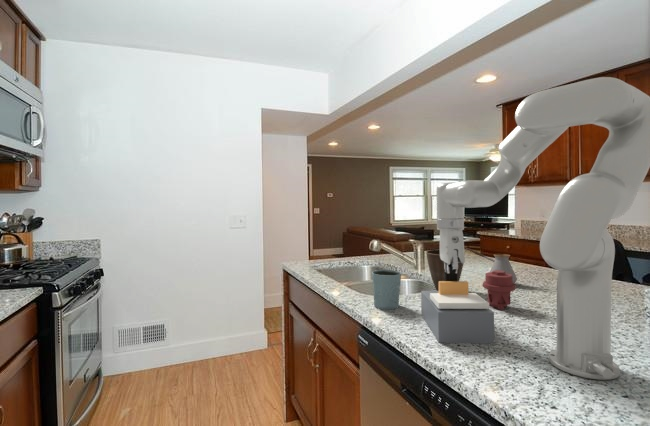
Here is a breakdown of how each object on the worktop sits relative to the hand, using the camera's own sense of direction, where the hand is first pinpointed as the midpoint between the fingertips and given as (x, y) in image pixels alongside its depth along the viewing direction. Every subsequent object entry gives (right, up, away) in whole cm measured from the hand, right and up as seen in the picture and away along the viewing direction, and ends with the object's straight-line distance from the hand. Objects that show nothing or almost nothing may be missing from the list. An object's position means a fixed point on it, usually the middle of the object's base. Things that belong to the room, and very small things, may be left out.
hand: (450, 286), depth 103 cm
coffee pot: (+36, -10, +51) cm, 63 cm away
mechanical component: (+22, -11, +16) cm, 30 cm away
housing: (0, -12, -2) cm, 12 cm away
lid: (-1, -3, -7) cm, 7 cm away
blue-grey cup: (-15, -11, +20) cm, 28 cm away
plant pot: (+12, -10, +39) cm, 42 cm away
